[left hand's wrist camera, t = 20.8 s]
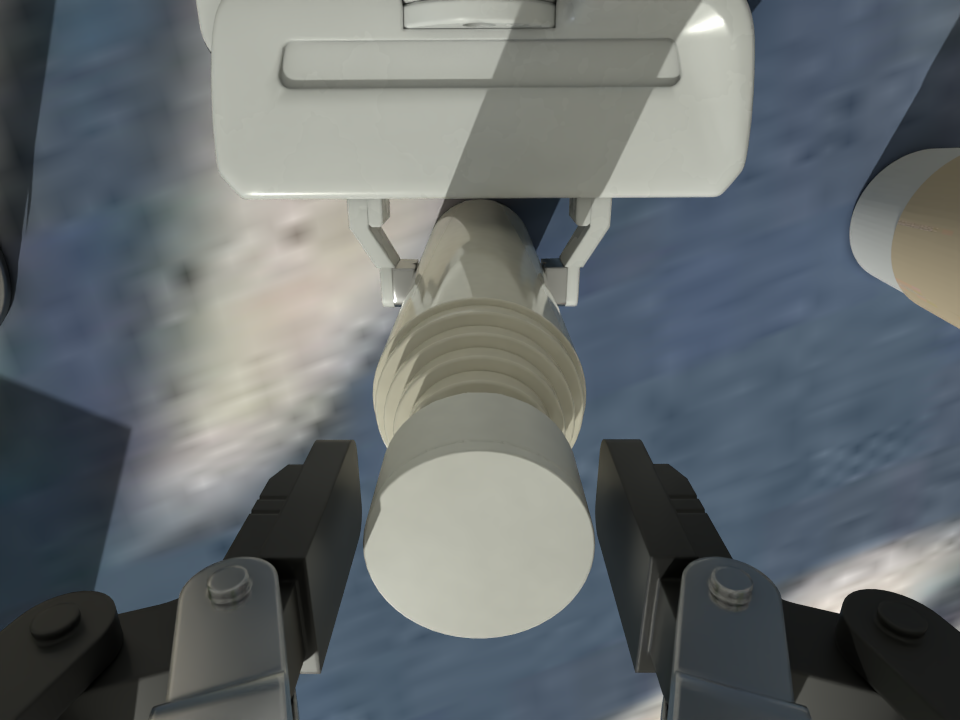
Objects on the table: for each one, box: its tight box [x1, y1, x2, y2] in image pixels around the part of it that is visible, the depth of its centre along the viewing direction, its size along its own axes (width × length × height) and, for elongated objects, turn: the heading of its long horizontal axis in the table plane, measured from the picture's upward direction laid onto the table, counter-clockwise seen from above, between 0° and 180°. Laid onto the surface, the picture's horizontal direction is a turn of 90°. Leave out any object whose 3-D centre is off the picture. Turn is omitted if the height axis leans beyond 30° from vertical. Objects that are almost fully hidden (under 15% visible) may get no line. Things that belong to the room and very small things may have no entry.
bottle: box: [373, 199, 586, 449], centre depth 22 cm, size 6×6×24 cm
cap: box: [363, 392, 595, 638], centre depth 11 cm, size 4×4×2 cm
